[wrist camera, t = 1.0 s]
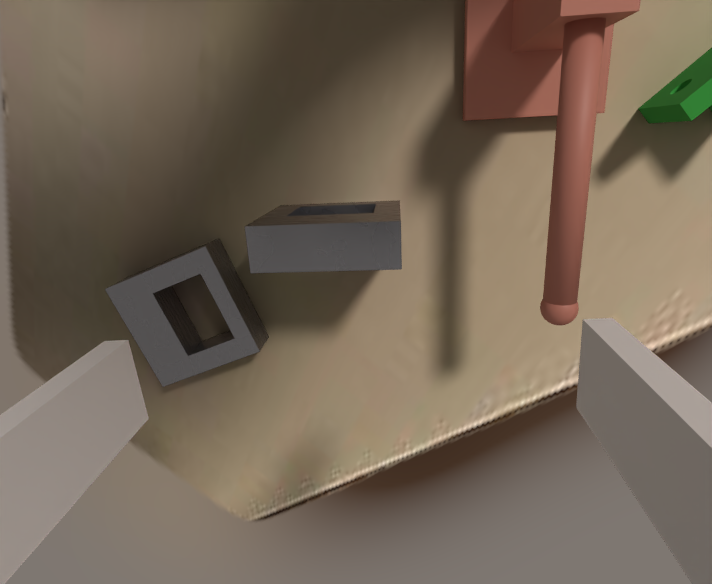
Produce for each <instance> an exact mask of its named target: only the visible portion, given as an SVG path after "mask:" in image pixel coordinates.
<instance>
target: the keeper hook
mask: <svg viewBox="0 0 712 584" xmlns="http://www.w3.org/2000/svg"><path fill="white" fill-rule="evenodd" d="M639 8H640V0H465V37H464V87H463V121H467V120H485V119H503V118H521V117H540V116H557V128H556V140H555V153H554V166H553V179H552V191H551V204H550V217H549V229H548V242H547V255H546V268H545V280H544V293H543V299H542V302H541V306H540V310H541V314H542V316H543V317H544V319H545V320H547V321H548V322H549V323H551V324H554V325H565V324H568V323H570V322H571V321H573V320H574V319H575V317H576V316H577V314H578V302H577V298H578V288H579V278H580V268H581V259H582V249H583V239H584V229H585V220H586V210H587V200H588V191H589V181H590V171H591V161H592V152H593V142H594V132H595V122H596V113H604V111H605V101H606V92H607V83H608V74H609V64H610V55H611V46H612V36H613V27H614V23H616V22H618V21H620V20H622V19H624V18H626V17H628V16H630V15H632V14H633V13H635V12H637V11H639Z"/></svg>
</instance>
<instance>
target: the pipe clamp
mask: <svg viewBox="0 0 712 584" xmlns="http://www.w3.org/2000/svg"><path fill="white" fill-rule="evenodd" d="M707 108H710V109H711V111H712V48H711V49H709V50H708V51H707V52H706V53H705V54H703V55H702V56H701V57H700V58H699V59H697V60H696V61H695V62H694V63H693V64H691V65H690V66H689V67H688V68H687V69H685V70H684V71H683V72H682V73H681V74H679V75H678V76H677V77H676V78H675V79H673V80H672V81H671V82H670V83H669V84H667V85H666V86H665V87H664V88H663V89H661V90H660V91H659V92H658V93H657V94H655V95H654V96H653V97H652V98H651V99H649V100H648V101H647V102H646V103H644V104H643V105H642V106H641V107H640V108H638V109H639V111H640V112H641V113H642V115H643V116H644V118H645V119H646V120H647V122H648V123H661V122H679V121H692V120H693V119H695V118H696V117H697V116H699V115H700V114H701V113H702V112H704V111H705V110H706V109H707Z"/></svg>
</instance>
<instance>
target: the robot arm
mask: <svg viewBox="0 0 712 584" xmlns="http://www.w3.org/2000/svg"><path fill="white" fill-rule="evenodd" d="M576 407H577V409H578V411H579V412H580V413H581V415H582V417H583V418H584V420H585V421H586V423H587V424H588V426H589V427H590V429H591V430H592V432H593V433H594V435H595V436H596V438H597V439H598V441H599V442H600V444H601V446H602V447H603V449H604V450H605V452H606V453H607V455H608V456H609V458H610V459H611V461H612V462H613V464H614V466H615V467H616V468H617V470H618V471H619V473H620V475H621V476H622V478H623V479H624V481H625V482H626V484H627V485H628V487H629V488H630V490H631V491H632V493H633V495H634V496H635V497H636V499H637V501H638V502H639V504H640V505H641V507H642V508H643V510H644V511H645V513H646V514H647V516H648V517H649V519H650V520H651V522H652V523H653V525H654V527H655V528H656V530H657V531H658V533H659V534H660V536H661V537H662V539H663V540H664V542H665V543H666V545H667V546H668V548H669V549H670V551H671V552H672V554H673V556H674V557H675V558H676V560H677V561H678V563H679V564H680V566H681V568H682V569H683V571H684V572H685V574H686V575H687V577H688V578H689V580H690V581H691V583H692V584H712V403H711V402H710V401H709V400H708V399H707V398H705V397H704V396H703V395H702V394H700V392H698V391H697V390H696V389H695V388H694V387H692V386H691V385H690V384H689V383H688V382H687V381H686V380H684V379H683V378H682V377H681V376H680V375H679V374H677V373H676V372H675V371H674V370H672V368H670V367H669V366H668V365H667V364H666V363H665V362H663V361H662V360H661V359H660V358H659V357H658V356H656V355H655V354H654V353H653V352H652V351H650V350H649V349H648V348H647V347H646V346H645V345H643V344H642V343H641V342H640V341H639V340H638V339H636V338H635V337H634V336H633V335H632V334H631V333H629V332H628V331H627V330H626V329H625V328H624V327H622V326H621V325H620V324H619V323H618V322H617V321H615V320H614V319H613V318H600V319H583V324H582V337H581V351H580V365H579V379H578V393H577V406H576ZM148 419H149V418H148V414H147V410H146V406H145V403H144V399H143V395H142V391H141V387H140V383H139V379H138V375H137V372H136V368H135V364H134V360H133V356H132V352H131V348H130V345H129V341H128V340H114V341H104V342H102V343H101V344H99V345H98V346H97V347H95V348H94V349H92V350H91V351H90V352H88V353H87V354H85V355H84V356H83V357H81V358H80V359H78V360H77V361H75V362H74V363H73V364H71V365H70V366H68V367H67V368H66V369H64V370H63V371H61V372H60V373H59V374H57V375H56V376H54V377H53V378H51V379H50V380H49V381H47V382H46V383H44V384H43V385H42V386H40V387H39V388H37V389H36V390H35V391H33V392H32V393H31V394H29V395H28V396H26V397H25V398H23V399H22V400H21V401H19V402H18V403H16V404H15V405H13V406H12V407H11V408H9V409H8V410H6V411H5V412H3V413H2V414H1V415H0V584H5V583H6V582H7V581H8V579H9V578H10V577H11V576H12V575H13V573H14V572H15V571H16V570H17V569H18V568H19V567H20V566H21V564H22V563H23V562H24V561H25V560H26V559H27V558H28V556H29V555H30V554H31V553H32V552H33V551H34V550H35V548H36V547H37V546H38V545H39V544H40V543H41V542H42V540H43V539H44V538H45V537H46V536H47V535H48V533H49V532H50V531H51V530H52V529H53V528H54V526H55V525H56V524H57V523H58V522H59V521H60V520H61V519H62V517H63V516H64V515H65V514H66V513H67V512H68V510H69V509H70V508H71V507H72V506H73V505H74V503H76V501H77V500H78V499H79V498H80V496H81V495H82V494H83V493H84V492H85V491H86V490H87V489H88V488H89V486H90V485H91V484H92V483H93V482H94V481H95V479H96V478H97V477H98V476H99V475H100V474H101V473H102V472H103V470H104V469H105V468H106V467H107V466H108V465H109V464H110V462H111V461H112V460H113V459H114V458H115V457H116V455H117V454H118V453H119V452H120V451H121V450H122V448H123V447H124V446H125V445H126V444H127V443H128V442H129V441H130V439H131V438H132V437H133V436H134V435H135V434H136V433H137V431H138V430H139V429H140V428H141V427H142V426H143V425H144V423H145V422H146V421H147V420H148Z"/></svg>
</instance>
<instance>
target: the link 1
mask: <svg viewBox="0 0 712 584" xmlns="http://www.w3.org/2000/svg"><path fill="white" fill-rule="evenodd" d="M198 274H201V276H202V277H203V279H204V281H205V283H206V285H207V287H208V289H209V291H210V293H211V294H212V296H213V298H214V300H215V302H216V304H217V306H218V308H219V310H220V311H221V313H222V315H223V317H224V319H225V321H226V323H227V325H228V327H229V328H230V330H231V331H228V332H225V333H223V334H220V335H218V336H215V337H212V338H210V339H207V340H204V341H201V339H200V337H199V335H198V333H197V332H196V330H195V328H194V326H193V324H192V323H191V321H190V319H189V317H188V315H187V313H186V312H185V310H184V308H183V306H182V304H181V303H180V301H179V299H178V297H177V295H176V293H175V292H174V290H173V288H172V285H174V284H177V283H179V282H181V281H184V280H186V279H189V278H191V277H194V276H196V275H198ZM105 290H106V292H107V294H108V295H109V297H110V299H111V300H112V302H113V304H114V305H115V307H116V309H117V311H118V312H119V314H120V316H121V317H122V319H123V321H124V322H125V324H126V326H127V327H128V329H129V331H130V332H131V334H132V336H133V337H134V339H135V341H136V342H137V344H138V346H139V348H140V349H141V351H142V353H143V354H144V356H145V358H146V359H147V361H148V363H149V364H150V366H151V368H152V369H153V371H154V373H155V374H156V376H157V378H158V380H159V381H160V383H161V385H162V386H163V387H164V386H166V385H169V384H172V383H175V382H177V381H180V380H183V379H186V378H188V377H191V376H194V375H197V374H199V373H202V372H205V371H208V370H210V369H213V368H216V367H219V366H221V365H224V364H227V363H230V362H232V361H235V360H238V359H240V358H243V357H246V356H249V355H251V354H254V353H257V352H260V350H261V349H262V347H263V346H264V344H265V342H266V341H267V339H268V338H269V336H268V334H267V332H266V330H265V328H264V326H263V324H262V322H261V320H260V318H259V316H258V314H257V312H256V310H255V308H254V306H253V304H252V302H251V300H250V298H249V296H248V294H247V292H246V291H245V289H244V287H243V285H242V283H241V281H240V279H239V277H238V275H237V273H236V271H235V269H234V267H233V265H232V263H231V261H230V259H229V257H228V255H227V253H226V251H225V249H224V247H223V245H222V243H221V241H220V239H217V240H214V241H212V242H210V243H207V244H205V245H203V246H200V247H198V248H196V249H193V250H191V251H189V252H186V253H184V254H182V255H179V256H177V257H175V258H172V259H170V260H167V261H165V262H163V263H160V264H158V265H156V266H153V267H151V268H149V269H146V270H144V271H142V272H139V273H137V274H135V275H132V276H130V277H128V278H125V279H123V280H121V281H119V282H118V283H116V284H114V285H112V286H110V287H108V288H106V289H105Z"/></svg>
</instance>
